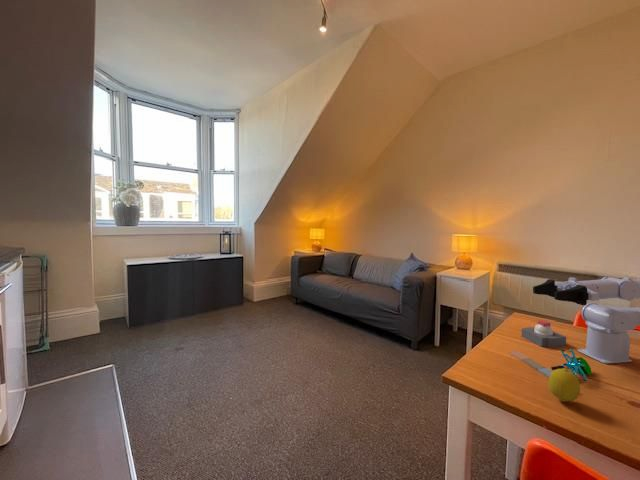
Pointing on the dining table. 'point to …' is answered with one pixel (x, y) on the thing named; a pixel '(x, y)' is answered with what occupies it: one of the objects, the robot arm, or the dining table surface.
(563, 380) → the lemon
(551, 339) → the dome housing
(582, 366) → the stick construction toy
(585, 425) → the dining table surface
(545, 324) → the dome button
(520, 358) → the track tiles
